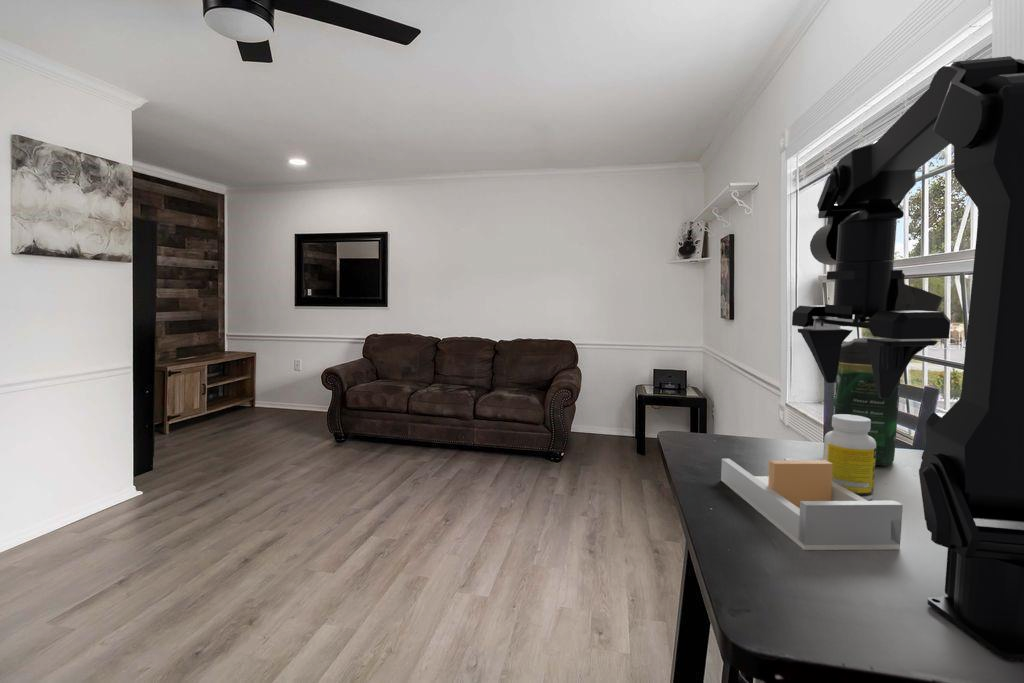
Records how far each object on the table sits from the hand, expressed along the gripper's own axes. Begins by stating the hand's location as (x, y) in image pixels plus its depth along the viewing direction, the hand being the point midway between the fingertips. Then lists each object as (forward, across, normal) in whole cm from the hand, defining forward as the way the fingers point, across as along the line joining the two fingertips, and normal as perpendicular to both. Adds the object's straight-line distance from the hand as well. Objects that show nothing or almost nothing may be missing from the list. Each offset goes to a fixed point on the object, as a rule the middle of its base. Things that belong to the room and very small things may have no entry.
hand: (855, 389), depth 62 cm
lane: (+13, -5, +10) cm, 17 cm away
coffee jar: (+14, +13, -12) cm, 22 cm away
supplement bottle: (+13, 0, +1) cm, 13 cm away
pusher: (+13, -5, +10) cm, 17 cm away
